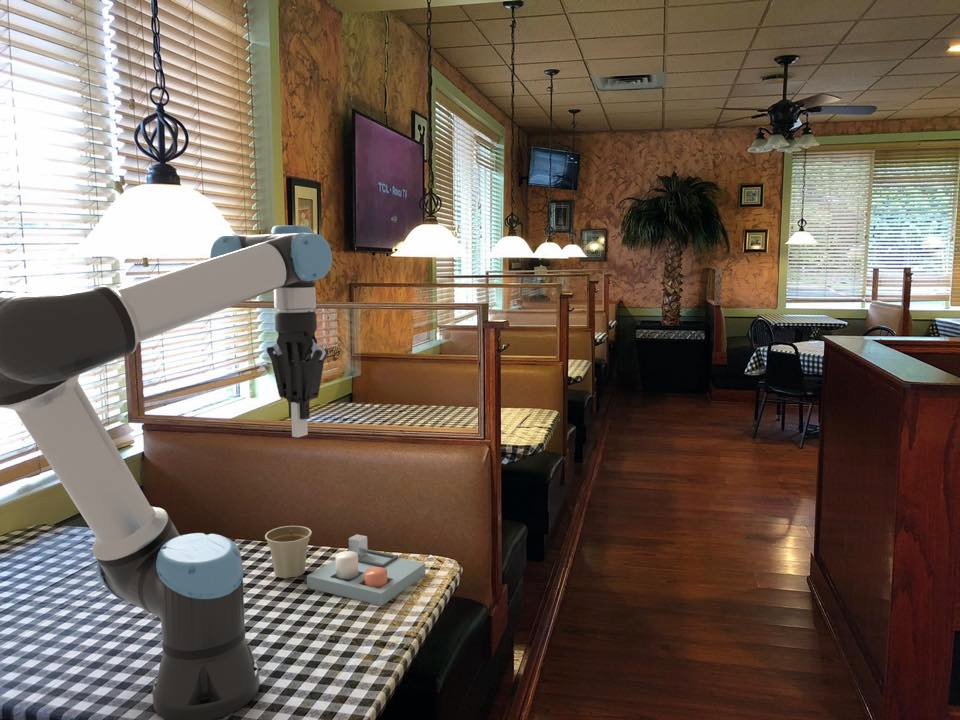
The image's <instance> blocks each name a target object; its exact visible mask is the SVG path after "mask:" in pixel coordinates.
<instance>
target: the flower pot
mask: <svg viewBox="0 0 960 720" xmlns="http://www.w3.org/2000/svg"><path fill="white" fill-rule="evenodd" d="M311 536H312V530H311V529H310V528H309V527H306V526H301V525H286V526H285V525H284V526H280V527H276V528H273V529H271V530H269V531H267V532H266V533H265V535H264V539H265V540H266V541H267V544H268V546H269V550H270V557H271V561H272V566H273V572H274V575H275V577H276V578H280V579H286V580H287V579H289V578H292V577H293V578H298V577H300V576H302V575H304V573H305V572H306V565H307V563H306V562H307V555H308V554H307V552H308V544H309V542H310V538H311Z"/></svg>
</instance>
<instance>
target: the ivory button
mask: <svg viewBox="0 0 960 720" xmlns="http://www.w3.org/2000/svg"><path fill="white" fill-rule="evenodd" d="M335 560H336V576H337V577H338V578H341V579H350V578H354V577H356V576H357V575H358V553H356V552H353V551H348V550H345V551H340V552H338V553H336V554H335Z"/></svg>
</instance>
